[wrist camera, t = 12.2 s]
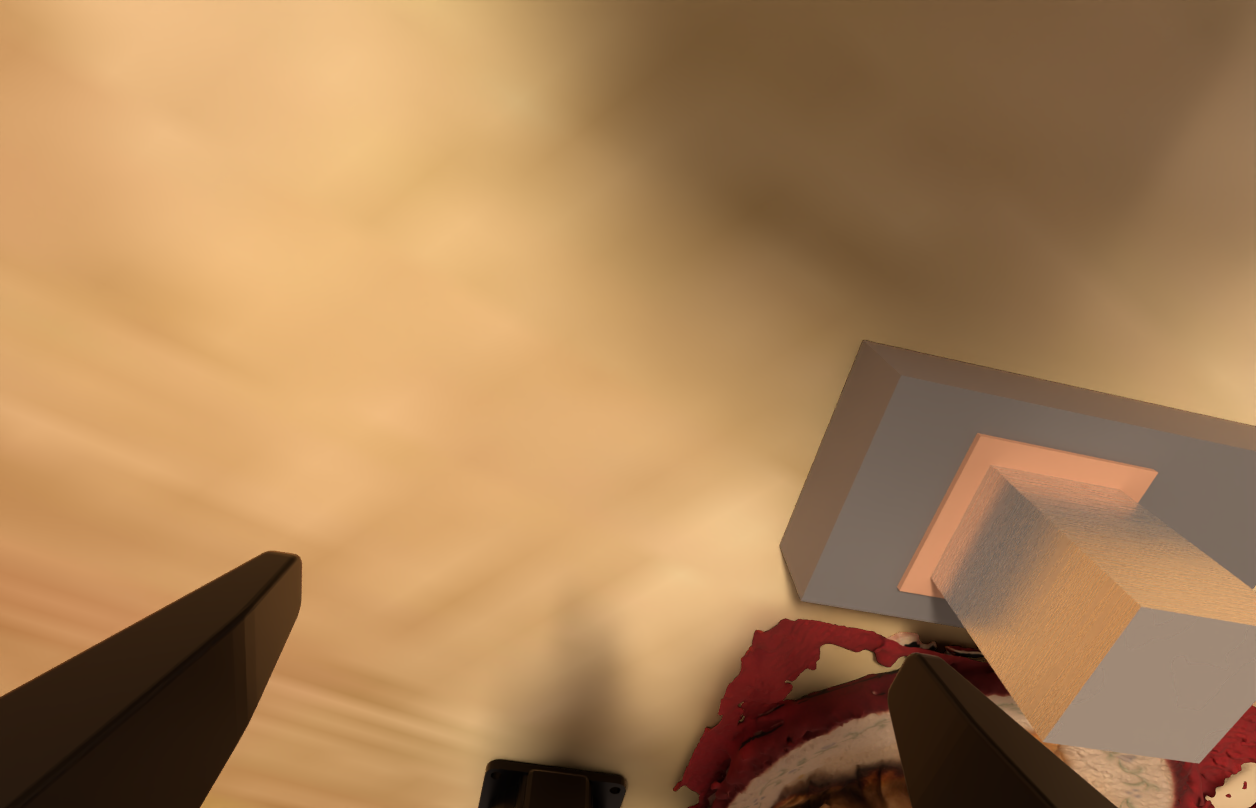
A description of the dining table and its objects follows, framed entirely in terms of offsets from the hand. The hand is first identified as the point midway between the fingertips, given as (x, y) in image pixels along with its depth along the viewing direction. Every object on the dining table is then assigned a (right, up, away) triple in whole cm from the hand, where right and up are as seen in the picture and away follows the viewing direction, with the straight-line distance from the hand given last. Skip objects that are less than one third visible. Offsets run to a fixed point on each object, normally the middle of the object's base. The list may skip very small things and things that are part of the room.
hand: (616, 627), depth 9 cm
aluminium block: (+13, -1, +11) cm, 17 cm away
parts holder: (+19, -1, +15) cm, 24 cm away
